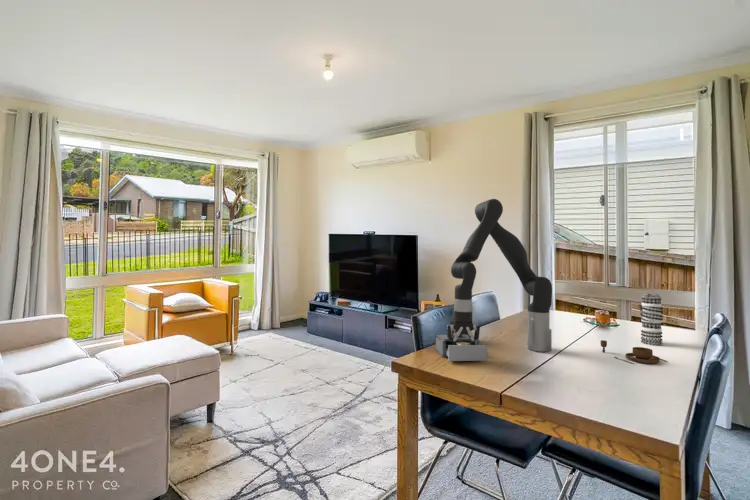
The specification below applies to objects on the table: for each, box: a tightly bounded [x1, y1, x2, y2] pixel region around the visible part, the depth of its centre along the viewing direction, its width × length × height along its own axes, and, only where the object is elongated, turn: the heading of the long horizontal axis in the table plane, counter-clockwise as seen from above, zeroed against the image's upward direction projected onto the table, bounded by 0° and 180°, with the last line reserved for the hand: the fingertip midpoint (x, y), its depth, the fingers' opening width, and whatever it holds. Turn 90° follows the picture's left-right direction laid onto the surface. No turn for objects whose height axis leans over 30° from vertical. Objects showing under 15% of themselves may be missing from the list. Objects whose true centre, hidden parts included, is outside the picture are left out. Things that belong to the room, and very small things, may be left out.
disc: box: [456, 342, 471, 345], centre depth 161 cm, size 6×6×2 cm
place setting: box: [600, 340, 669, 365], centre depth 166 cm, size 18×20×6 cm
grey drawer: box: [445, 344, 488, 362], centre depth 161 cm, size 16×13×6 cm
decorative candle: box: [639, 292, 664, 347], centre depth 186 cm, size 9×9×25 cm
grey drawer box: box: [435, 328, 481, 358], centre depth 171 cm, size 16×13×10 cm
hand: (462, 349), depth 161 cm, fingers closed on disc, 6 cm apart
